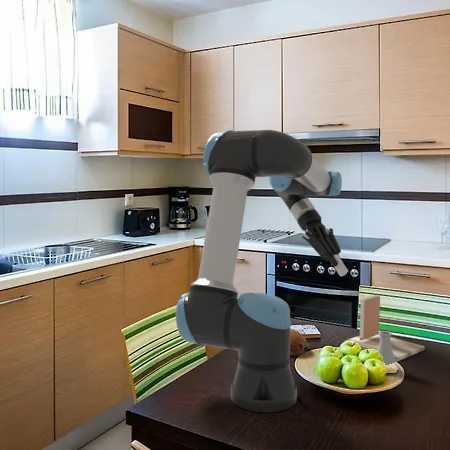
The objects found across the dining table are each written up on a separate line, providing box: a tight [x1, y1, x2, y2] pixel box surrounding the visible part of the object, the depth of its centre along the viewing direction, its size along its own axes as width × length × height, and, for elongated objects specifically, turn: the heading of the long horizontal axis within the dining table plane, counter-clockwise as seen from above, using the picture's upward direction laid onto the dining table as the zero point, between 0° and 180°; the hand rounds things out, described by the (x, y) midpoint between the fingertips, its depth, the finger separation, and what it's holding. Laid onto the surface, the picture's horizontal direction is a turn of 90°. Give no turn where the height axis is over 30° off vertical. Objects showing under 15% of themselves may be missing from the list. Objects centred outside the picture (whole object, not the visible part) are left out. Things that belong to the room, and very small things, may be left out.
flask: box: [377, 330, 397, 365], centre depth 134 cm, size 7×7×10 cm
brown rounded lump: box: [290, 327, 310, 357], centre depth 149 cm, size 10×10×8 cm
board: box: [343, 334, 426, 362], centre depth 152 cm, size 14×18×1 cm
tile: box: [359, 294, 381, 340], centre depth 155 cm, size 8×1×12 cm, turn 130°
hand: (344, 273), depth 161 cm, fingers closed
